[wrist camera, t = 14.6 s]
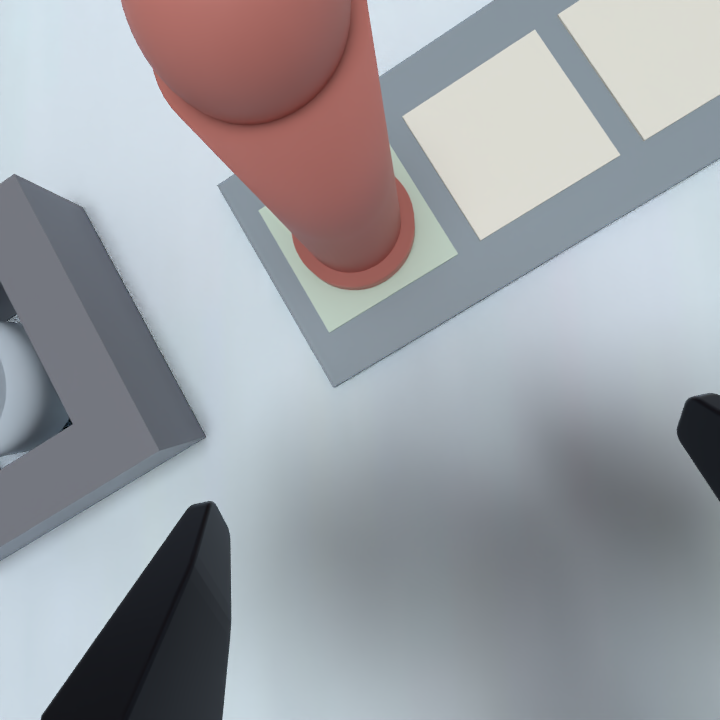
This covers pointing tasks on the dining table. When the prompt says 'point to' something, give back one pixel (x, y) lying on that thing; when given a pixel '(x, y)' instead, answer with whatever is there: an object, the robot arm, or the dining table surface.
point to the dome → (25, 394)
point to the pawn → (290, 119)
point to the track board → (511, 157)
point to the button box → (80, 367)
